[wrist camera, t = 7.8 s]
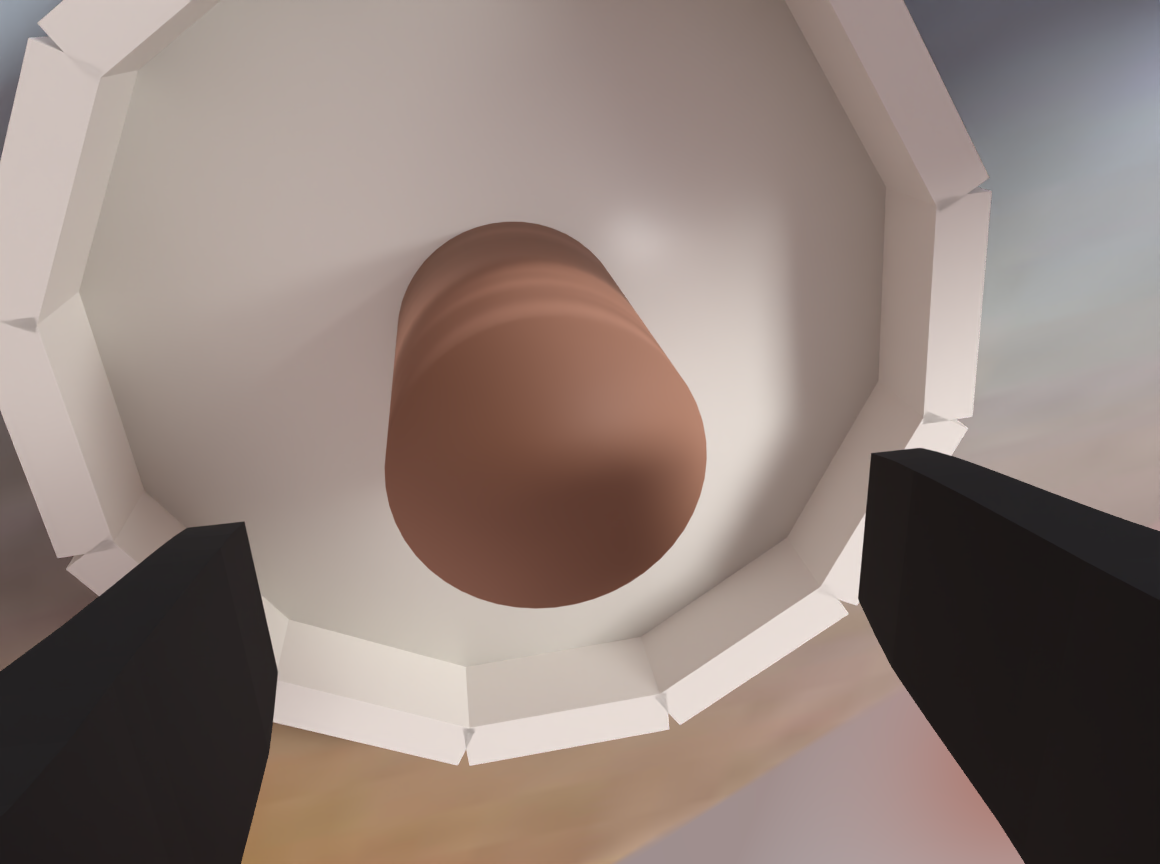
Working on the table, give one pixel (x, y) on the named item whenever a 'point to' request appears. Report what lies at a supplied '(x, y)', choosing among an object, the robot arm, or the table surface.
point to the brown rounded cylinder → (535, 423)
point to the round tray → (397, 250)
